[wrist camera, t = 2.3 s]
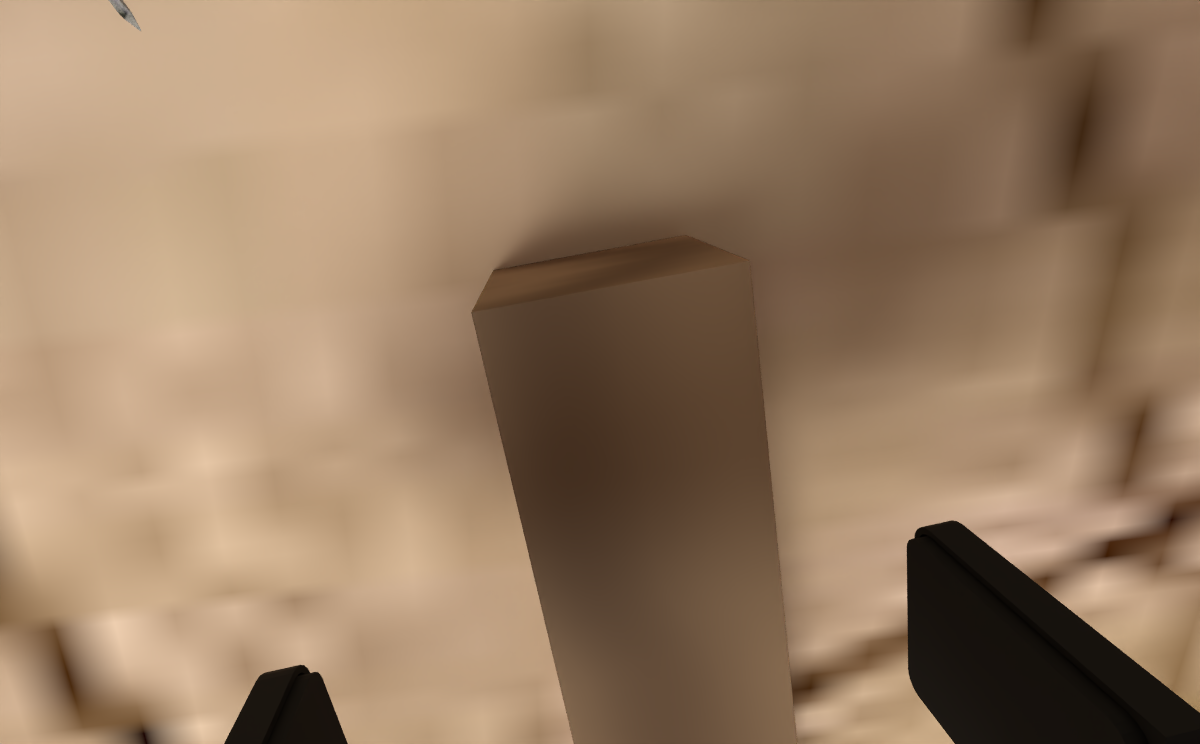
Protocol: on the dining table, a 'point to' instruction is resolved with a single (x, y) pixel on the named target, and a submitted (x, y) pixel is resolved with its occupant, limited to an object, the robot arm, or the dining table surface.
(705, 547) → the walnut rail
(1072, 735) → the robot arm
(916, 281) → the dining table surface
